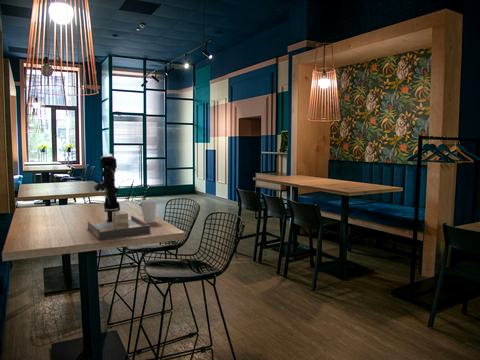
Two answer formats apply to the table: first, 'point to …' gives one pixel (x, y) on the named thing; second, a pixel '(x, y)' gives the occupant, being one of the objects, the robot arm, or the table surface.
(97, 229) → the grey flat rectangular tray
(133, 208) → the table surface
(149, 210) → the foam cup
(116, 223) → the birch brick
